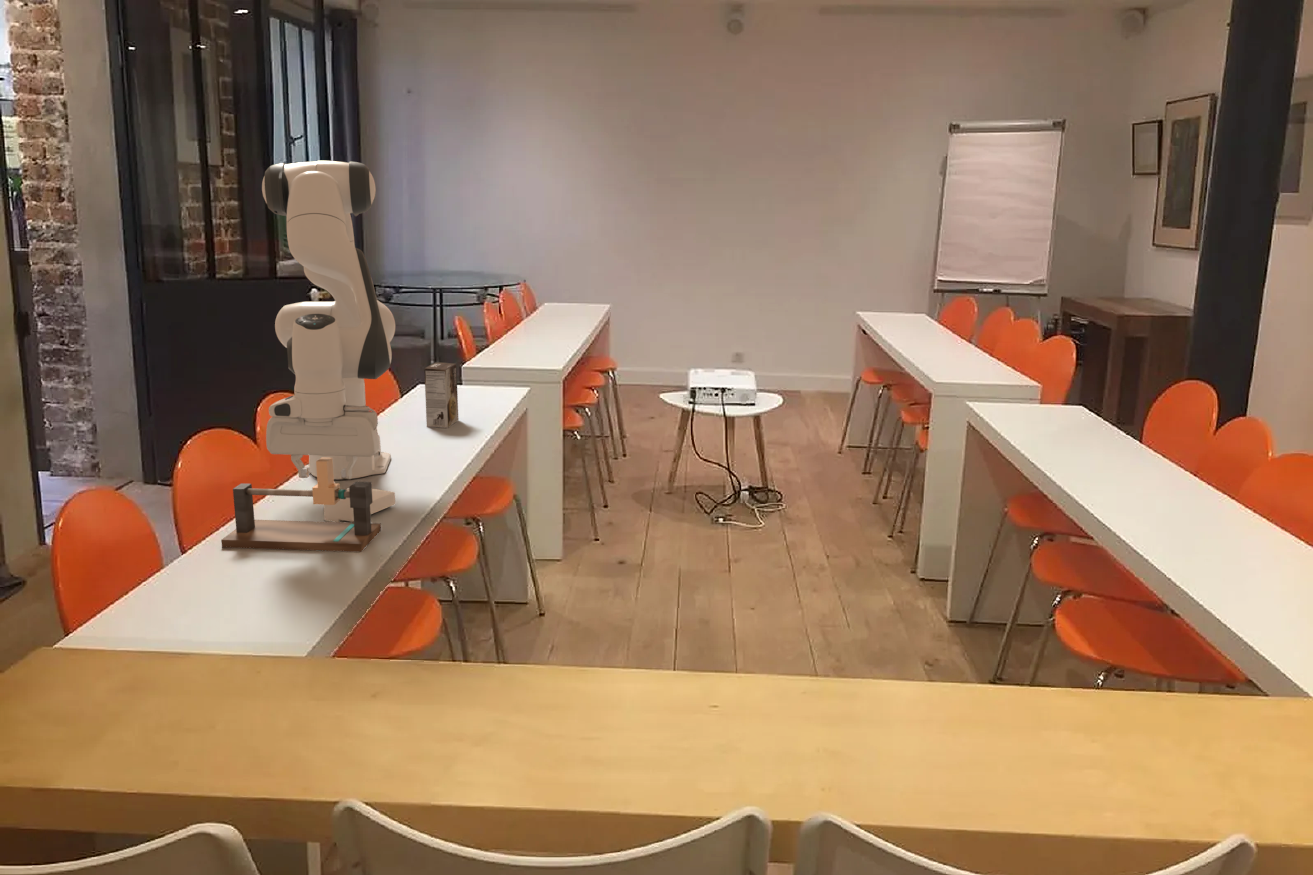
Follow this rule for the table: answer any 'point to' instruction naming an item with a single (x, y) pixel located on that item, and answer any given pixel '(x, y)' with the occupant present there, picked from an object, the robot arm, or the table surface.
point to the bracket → (344, 511)
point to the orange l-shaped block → (325, 483)
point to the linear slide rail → (302, 523)
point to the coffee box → (441, 394)
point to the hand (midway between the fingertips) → (325, 477)
